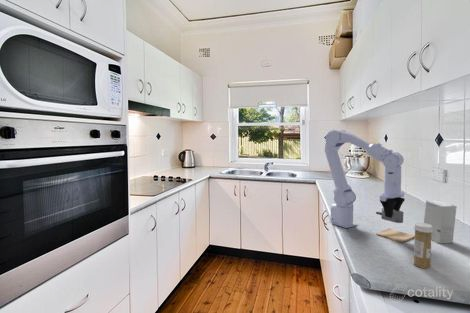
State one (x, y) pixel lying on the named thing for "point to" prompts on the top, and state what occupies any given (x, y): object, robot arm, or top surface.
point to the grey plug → (396, 216)
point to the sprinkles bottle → (422, 245)
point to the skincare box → (440, 220)
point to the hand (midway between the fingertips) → (391, 215)
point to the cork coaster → (395, 235)
